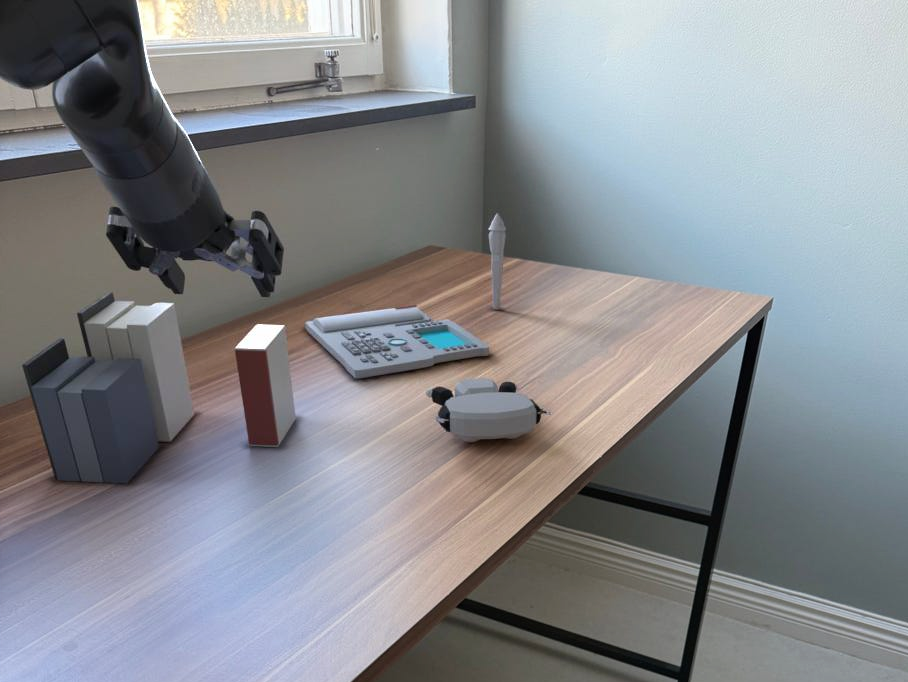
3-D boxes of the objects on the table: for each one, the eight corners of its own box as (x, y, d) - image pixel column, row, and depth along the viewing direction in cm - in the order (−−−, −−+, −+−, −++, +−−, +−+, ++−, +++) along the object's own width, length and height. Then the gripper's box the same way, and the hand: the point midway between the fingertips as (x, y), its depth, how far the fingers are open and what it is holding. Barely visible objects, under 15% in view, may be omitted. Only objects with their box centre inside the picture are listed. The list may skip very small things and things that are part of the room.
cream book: (249, 446, 102) (234, 348, 96) (269, 417, 109) (256, 324, 102) (277, 447, 102) (264, 349, 95) (296, 419, 108) (285, 325, 102)
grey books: (52, 480, 95) (19, 366, 88) (89, 444, 102) (61, 336, 95) (127, 483, 94) (99, 369, 87) (159, 447, 102) (136, 339, 95)
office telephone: (302, 312, 134) (428, 296, 141) (304, 330, 136) (428, 313, 142) (354, 360, 117) (494, 339, 124) (355, 380, 118) (494, 358, 125)
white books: (107, 439, 103) (76, 313, 95) (135, 411, 110) (108, 291, 101) (170, 442, 103) (144, 315, 95) (194, 414, 109) (172, 293, 101)
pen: (501, 312, 143) (503, 215, 134) (485, 310, 143) (486, 214, 135) (506, 308, 145) (508, 212, 136) (490, 306, 145) (491, 210, 137)
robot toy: (421, 413, 112) (443, 456, 100) (419, 376, 110) (442, 415, 97) (518, 406, 114) (551, 447, 102) (519, 369, 112) (553, 407, 99)
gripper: (249, 136, 72) (300, 253, 88) (74, 131, 73) (156, 248, 89) (239, 223, 71) (292, 326, 87) (61, 217, 72) (146, 320, 88)
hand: (223, 287), depth 88 cm, fingers open, 8 cm apart
